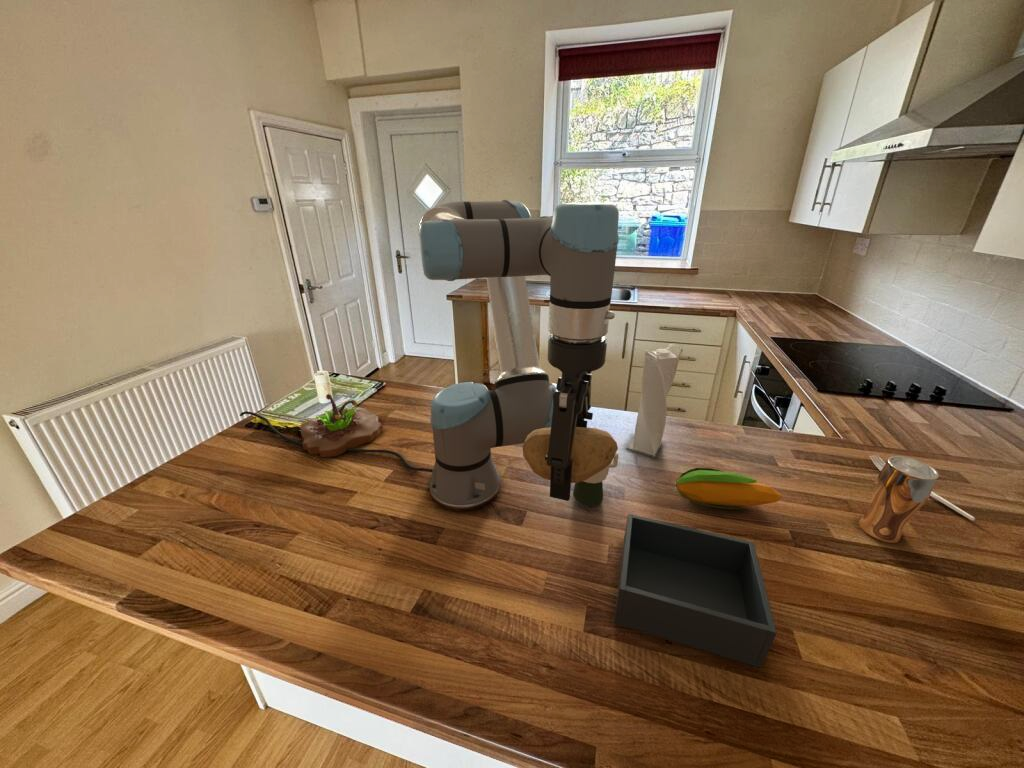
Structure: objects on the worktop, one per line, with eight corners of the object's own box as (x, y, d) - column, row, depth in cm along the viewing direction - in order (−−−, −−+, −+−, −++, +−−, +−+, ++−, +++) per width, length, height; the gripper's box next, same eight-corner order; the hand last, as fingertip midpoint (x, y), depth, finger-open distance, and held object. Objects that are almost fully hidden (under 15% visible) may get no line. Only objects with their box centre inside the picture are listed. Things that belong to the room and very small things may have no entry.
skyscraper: (667, 445, 102) (687, 341, 90) (659, 462, 96) (680, 352, 84) (634, 435, 106) (649, 335, 94) (624, 451, 100) (639, 345, 88)
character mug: (608, 486, 88) (614, 436, 82) (618, 509, 82) (625, 456, 76) (559, 488, 87) (562, 438, 82) (565, 511, 81) (569, 459, 75)
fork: (966, 523, 78) (971, 516, 77) (864, 462, 95) (867, 455, 95) (979, 520, 78) (983, 513, 78) (876, 460, 96) (879, 454, 95)
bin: (613, 623, 60) (619, 588, 57) (623, 544, 73) (628, 513, 70) (761, 668, 54) (777, 633, 51) (742, 574, 68) (753, 541, 64)
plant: (361, 407, 120) (354, 373, 115) (392, 433, 107) (386, 396, 102) (289, 432, 108) (279, 395, 103) (315, 465, 95) (304, 424, 90)
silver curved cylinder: (892, 522, 78) (926, 459, 72) (911, 549, 72) (950, 483, 66) (849, 513, 80) (879, 451, 74) (864, 539, 74) (898, 474, 68)
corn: (676, 457, 84) (779, 466, 81) (670, 484, 88) (768, 494, 85) (683, 481, 78) (795, 493, 75) (676, 509, 82) (782, 521, 79)
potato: (624, 493, 57) (630, 447, 54) (526, 500, 56) (526, 453, 53) (604, 454, 66) (608, 411, 63) (519, 459, 65) (519, 416, 61)
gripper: (591, 371, 41) (577, 534, 50) (618, 314, 60) (604, 440, 69) (521, 362, 43) (520, 519, 52) (568, 310, 62) (562, 432, 72)
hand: (568, 474), depth 61 cm, fingers closed on potato, 10 cm apart
